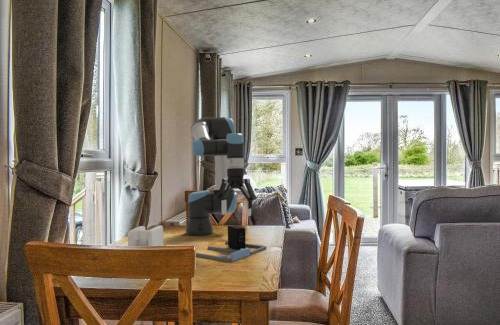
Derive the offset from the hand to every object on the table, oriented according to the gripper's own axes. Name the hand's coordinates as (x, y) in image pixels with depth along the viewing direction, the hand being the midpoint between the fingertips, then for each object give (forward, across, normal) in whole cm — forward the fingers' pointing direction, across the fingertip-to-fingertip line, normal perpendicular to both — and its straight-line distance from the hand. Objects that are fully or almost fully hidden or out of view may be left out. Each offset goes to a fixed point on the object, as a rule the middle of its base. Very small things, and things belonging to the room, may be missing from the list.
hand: (236, 215), depth 174 cm
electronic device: (+15, 0, 0) cm, 15 cm away
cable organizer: (+15, -27, -28) cm, 42 cm away
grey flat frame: (+15, 0, -6) cm, 16 cm away
